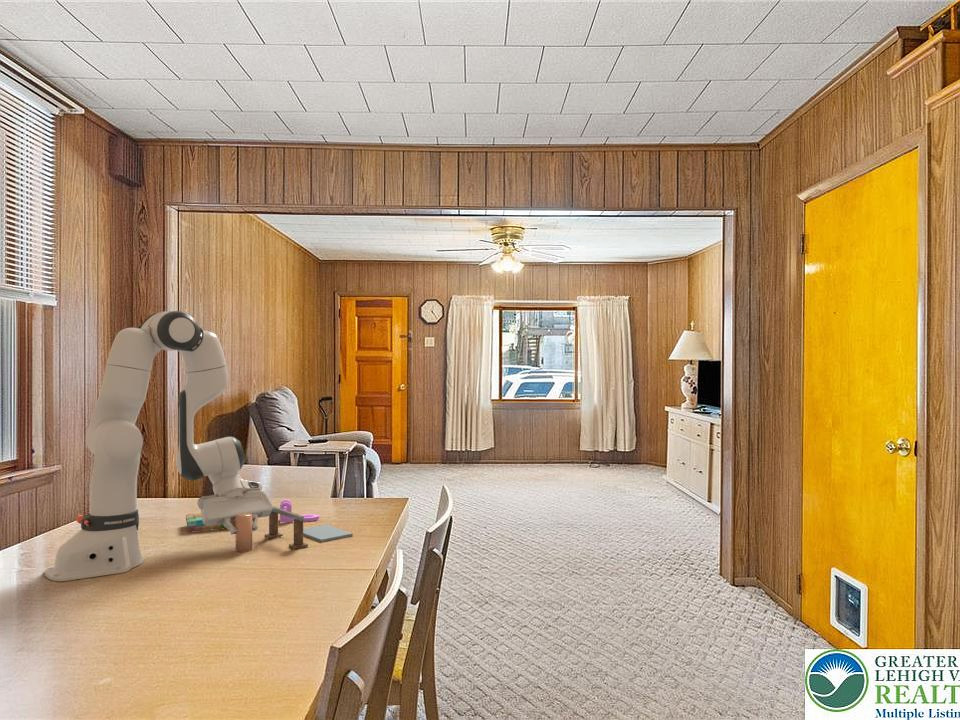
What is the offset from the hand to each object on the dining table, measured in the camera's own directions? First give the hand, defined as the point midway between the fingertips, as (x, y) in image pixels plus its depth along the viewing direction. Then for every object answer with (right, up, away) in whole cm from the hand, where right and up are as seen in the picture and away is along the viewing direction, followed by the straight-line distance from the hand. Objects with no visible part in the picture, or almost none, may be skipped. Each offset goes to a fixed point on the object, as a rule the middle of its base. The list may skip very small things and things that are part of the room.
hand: (244, 531), depth 196 cm
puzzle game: (-19, -6, +29) cm, 35 cm away
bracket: (+6, -6, +38) cm, 39 cm away
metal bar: (+9, +3, +9) cm, 13 cm away
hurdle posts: (+9, -5, +9) cm, 14 cm away
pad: (+19, -5, +18) cm, 27 cm away
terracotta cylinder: (0, -5, 0) cm, 5 cm away
